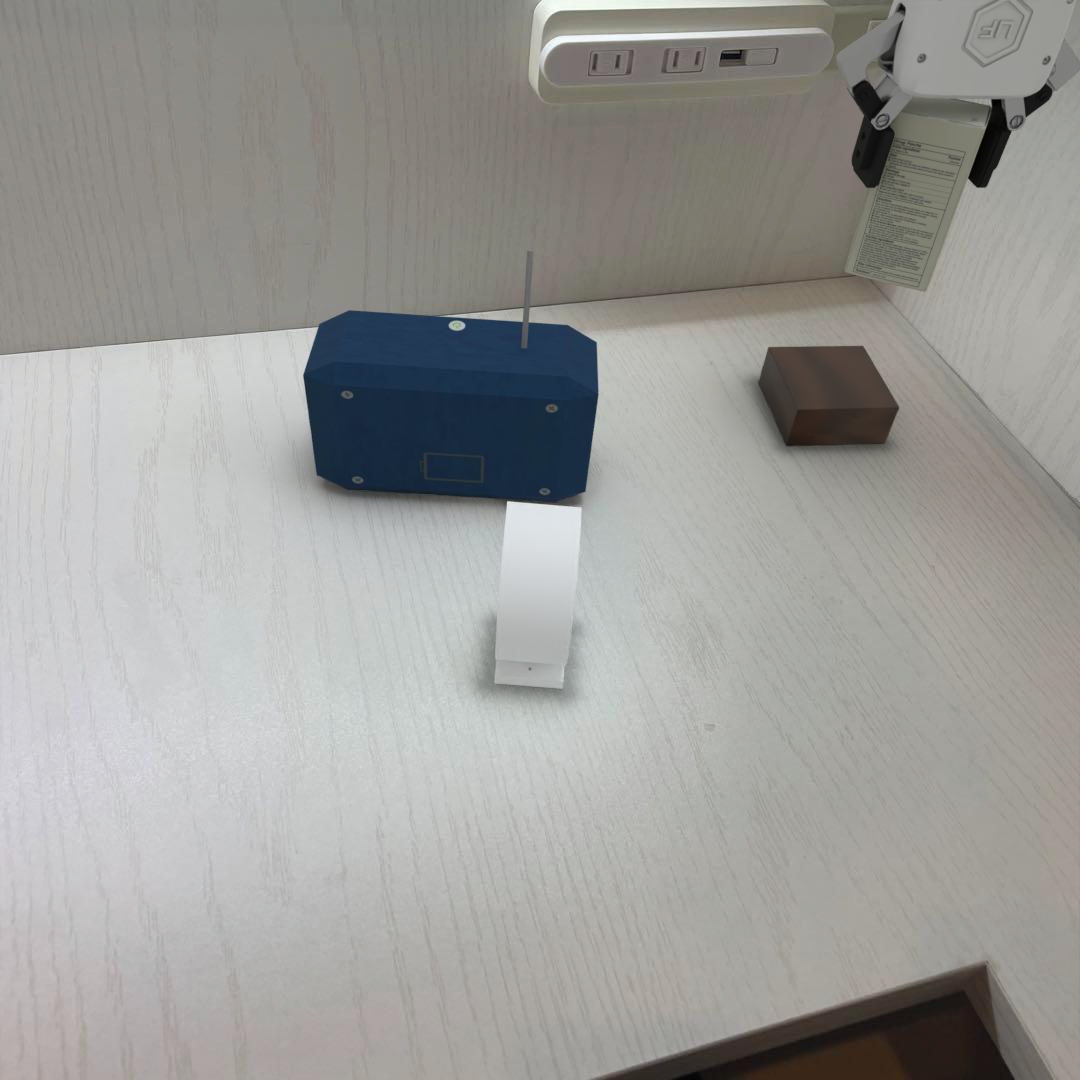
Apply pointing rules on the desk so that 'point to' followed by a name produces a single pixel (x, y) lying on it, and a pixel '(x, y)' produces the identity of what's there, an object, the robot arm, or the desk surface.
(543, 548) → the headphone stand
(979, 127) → the cosmetic box
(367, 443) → the radio
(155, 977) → the desk surface
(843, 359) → the walnut block
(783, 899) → the desk surface
